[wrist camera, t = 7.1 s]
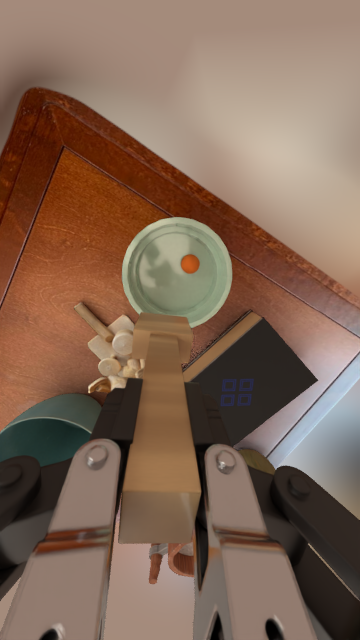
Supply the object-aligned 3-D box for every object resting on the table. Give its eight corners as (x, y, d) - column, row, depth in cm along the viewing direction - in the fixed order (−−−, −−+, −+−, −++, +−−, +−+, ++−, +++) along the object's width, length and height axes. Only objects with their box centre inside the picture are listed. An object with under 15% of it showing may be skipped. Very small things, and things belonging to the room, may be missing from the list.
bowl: (132, 217, 35) (125, 208, 29) (228, 232, 37) (242, 226, 30) (126, 313, 40) (119, 324, 33) (212, 321, 42) (221, 334, 35)
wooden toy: (174, 370, 44) (179, 418, 31) (135, 396, 45) (124, 452, 32) (104, 284, 38) (73, 299, 25) (61, 317, 39) (9, 347, 26)
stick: (140, 311, 20) (68, 483, 5) (186, 316, 21) (251, 487, 5) (138, 335, 21) (69, 550, 6) (183, 339, 21) (232, 548, 6)
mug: (228, 479, 55) (251, 559, 40) (170, 516, 57) (172, 603, 43) (196, 448, 51) (208, 524, 36) (135, 488, 53) (124, 574, 39)
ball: (181, 253, 37) (183, 252, 34) (199, 255, 37) (202, 255, 34) (179, 271, 38) (180, 273, 35) (196, 273, 38) (199, 275, 35)
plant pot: (98, 454, 49) (78, 516, 37) (21, 423, 45) (-29, 481, 33) (138, 397, 45) (129, 446, 34) (57, 357, 41) (15, 397, 30)
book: (297, 363, 46) (318, 380, 40) (212, 431, 50) (219, 457, 43) (248, 308, 41) (264, 317, 35) (159, 388, 45) (158, 410, 39)
